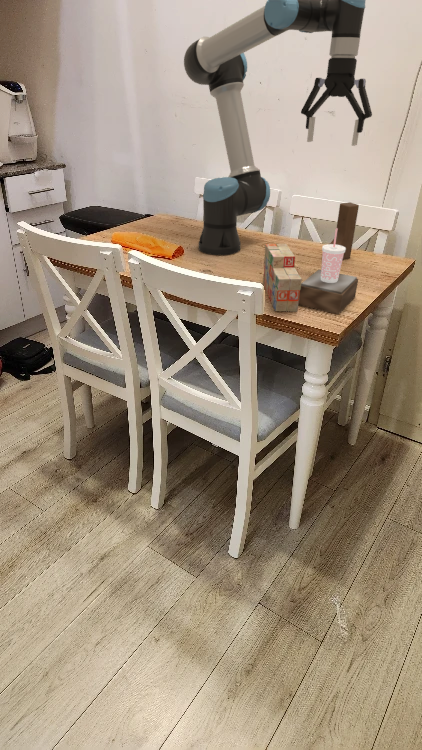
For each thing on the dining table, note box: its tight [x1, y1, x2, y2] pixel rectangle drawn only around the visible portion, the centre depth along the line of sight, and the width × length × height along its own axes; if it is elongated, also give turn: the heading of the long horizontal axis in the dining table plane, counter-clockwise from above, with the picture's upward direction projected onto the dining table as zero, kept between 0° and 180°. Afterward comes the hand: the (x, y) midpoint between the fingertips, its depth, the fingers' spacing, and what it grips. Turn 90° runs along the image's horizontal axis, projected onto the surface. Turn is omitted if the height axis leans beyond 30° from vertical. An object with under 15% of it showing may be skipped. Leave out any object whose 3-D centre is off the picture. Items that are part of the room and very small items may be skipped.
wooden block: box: [321, 201, 359, 261], centre depth 162 cm, size 9×4×18 cm, turn 116°
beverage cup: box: [320, 227, 346, 283], centre depth 129 cm, size 6×6×14 cm
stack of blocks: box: [262, 243, 303, 312], centre depth 135 cm, size 21×6×12 cm, turn 4°
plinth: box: [298, 269, 359, 315], centre depth 134 cm, size 12×14×6 cm
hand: (331, 143), depth 143 cm, fingers open, 13 cm apart
